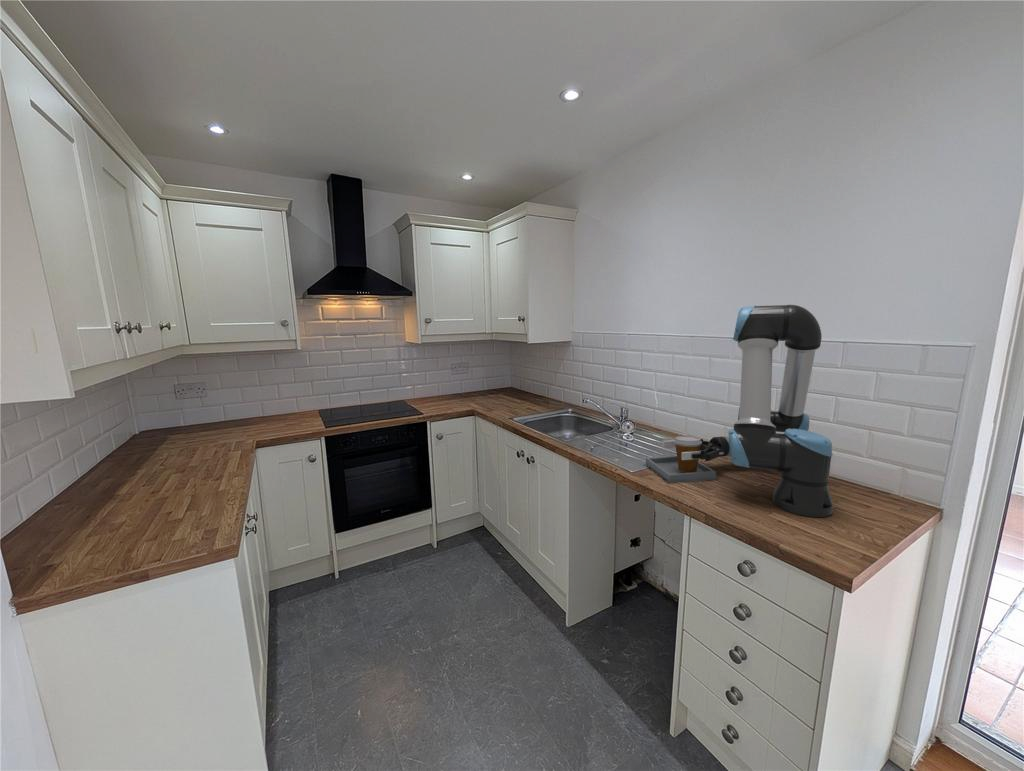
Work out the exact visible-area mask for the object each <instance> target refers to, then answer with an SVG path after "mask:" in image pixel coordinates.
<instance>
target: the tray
mask: <svg viewBox="0 0 1024 771" xmlns="http://www.w3.org/2000/svg"><path fill="white" fill-rule="evenodd" d="M646 465H647V466H649V467H650V468H649V469H650V470H651V469H652V470H653V471H652V470H651V471H652V472H653V473H655V474H656V473H657V474H658V475H657V474H656V475H657V476H658V477H660V476H661V477H662V478H661V477H660V478H661V479H662V480H664V479H665V480H666V481H667V483H668V482H669V483H668V484H677V482H681V483H687V482H688V483H689V482H690V483H692V482H693V483H694V482H701V481H702V482H704V481H715V480H717V471H716V470H714V469H713V468H710V467H709V466H707V465H706V464H704V463H702V462H700V461H699V460H698V467H697V471H696V472H683V471H680V470H679V468H678V460H677V455H672V456H671V455H670V456H659V457H658V456H657V457H646V458H645V466H646ZM647 466H646V467H647ZM665 480H664V481H665ZM666 481H665V482H666Z"/></svg>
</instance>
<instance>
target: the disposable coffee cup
mask: <svg viewBox="0 0 1024 771" xmlns="http://www.w3.org/2000/svg"><path fill="white" fill-rule="evenodd" d="M701 439H702V438H700V437H697V436H691V435H678V436H675V437H674V442H675V445H676V447H675V451H676V452H675V453H676V456H677V460H678V468H679V470H680V471H683V472H696V471H697V467H698V461H699V459H700V458H699V459H691V460H682V459H681V458H682V452H692V451H699V452H700V453H701V450H700V445H701V444H702V442H701Z"/></svg>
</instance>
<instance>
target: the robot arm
mask: <svg viewBox="0 0 1024 771" xmlns="http://www.w3.org/2000/svg"><path fill="white" fill-rule="evenodd" d="M822 337H823V336H822V329H821V326H820V323H819V321H818V319H817V318H816V316H815V315H814V314H813V313H812V312H810V311H809V310H808V309H806V308H805V307H803V306H800V305H796V304H786V305H785V304H783V305H780V304H779V305H753V306H743V307H741V308H740V309H739V310H738V313H737V318H736V323H735V329H734V332H733V337H732V340H733V341H734V342H737V347H738V348H739V349H741V351H742V352H741V375H740V376H741V378H740V397H739V398H740V400H739V407H738V412H737V413H738V415H737V421H736V422H734V423H733V428H729V430H728V432H727V433H728V435H724V436H714V437H712V438H711V439H710V440H709V441H708V440H704V439H703V438H700V439H701V442H702V444H701V445H700V452H699V451H692V452H682V458H681V459H682V460H691V459H700V460H704V461H705V462H710V461H712V460H715V459H716V458H721V457H723V458H724V457H730V461H731V463H732V464H733V465H735V466H737V467H744V468H747V469H750V468H751V469H756V470H757V469H759V470H768V471H775V472H776V471H777V472H781V476H780V479H779V481H778V483H777V484H776V487H775V488H774V490H773V493H772V503H773V504H774V505H776V506H777V507H778V508H780V509H782V510H784V511H786V512H789V513H791V514H796V515H799V516H804V517H810V518H825V517H826V518H827V517H829V516H831V515H832V514H833V512H834V503H833V499H832V496H831V492H830V489H829V479H830V472H831V471H830V470H831V463H832V461H831V460H832V457H833V443H832V441H831V440H830V439H829V438H828V437H826V436H824V435H822V434H821V433H816V432H814V431H809V428H810V416H809V414H808V413H804V412H805V406H806V403H807V397H808V391H809V387H810V382H811V375H812V371H813V365H814V359H815V354H816V351H817V350H818V349H820V348H821V345H822V344H821V343H822ZM779 341H780V342H781V341H782V342H783V341H784V346H785V348H786V349H787V351H786V359H785V364H784V365H785V366H784V371H783V378H782V384H781V392H780V398H779V405H778V411H773V410H771V409H772V408H771V405H772V385H773V384H772V383H773V382H772V379H773V352H774V351H773V350H774V349H776V348H777V347H778V346H779ZM674 440H675V439H674ZM674 440H662V449H670V448H676V445H675V442H674Z"/></svg>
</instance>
